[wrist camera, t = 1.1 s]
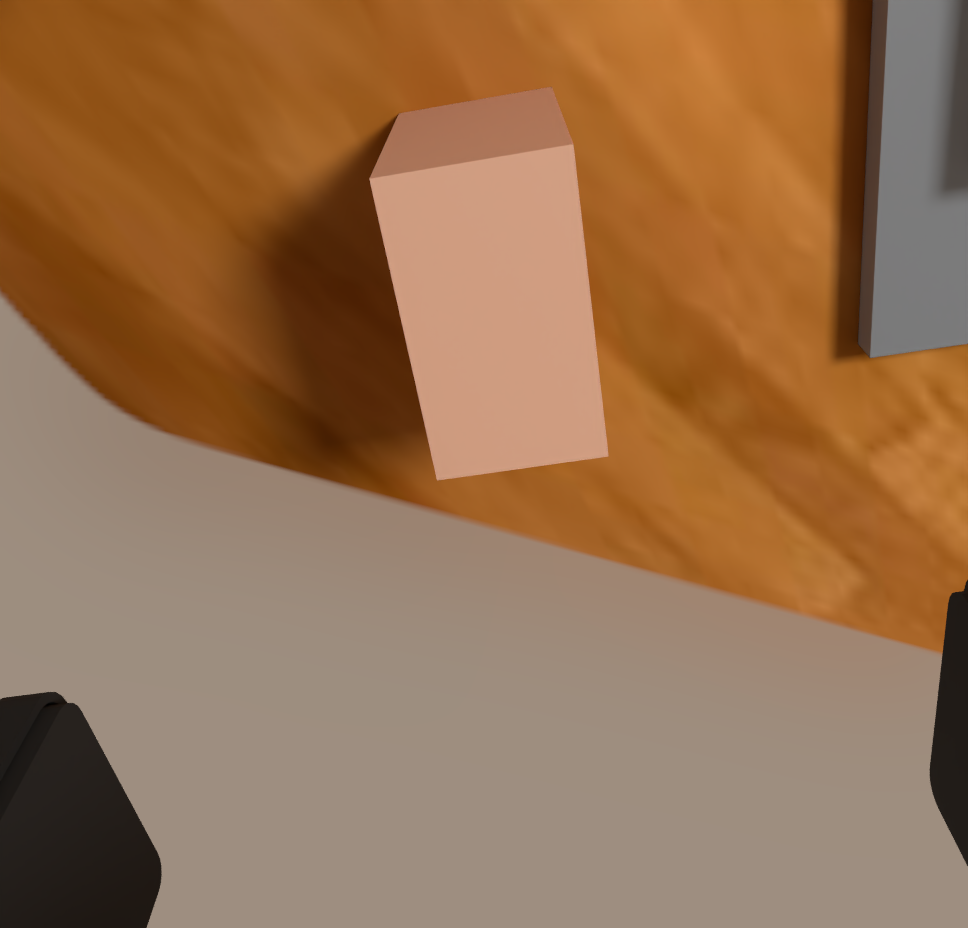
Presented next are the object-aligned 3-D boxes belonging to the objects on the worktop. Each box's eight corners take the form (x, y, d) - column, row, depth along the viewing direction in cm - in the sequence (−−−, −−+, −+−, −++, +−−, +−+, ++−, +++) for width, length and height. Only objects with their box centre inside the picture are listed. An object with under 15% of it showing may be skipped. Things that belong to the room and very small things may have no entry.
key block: (398, 113, 24) (369, 179, 18) (551, 86, 24) (573, 144, 18) (448, 357, 28) (437, 480, 22) (581, 337, 27) (608, 456, 21)
